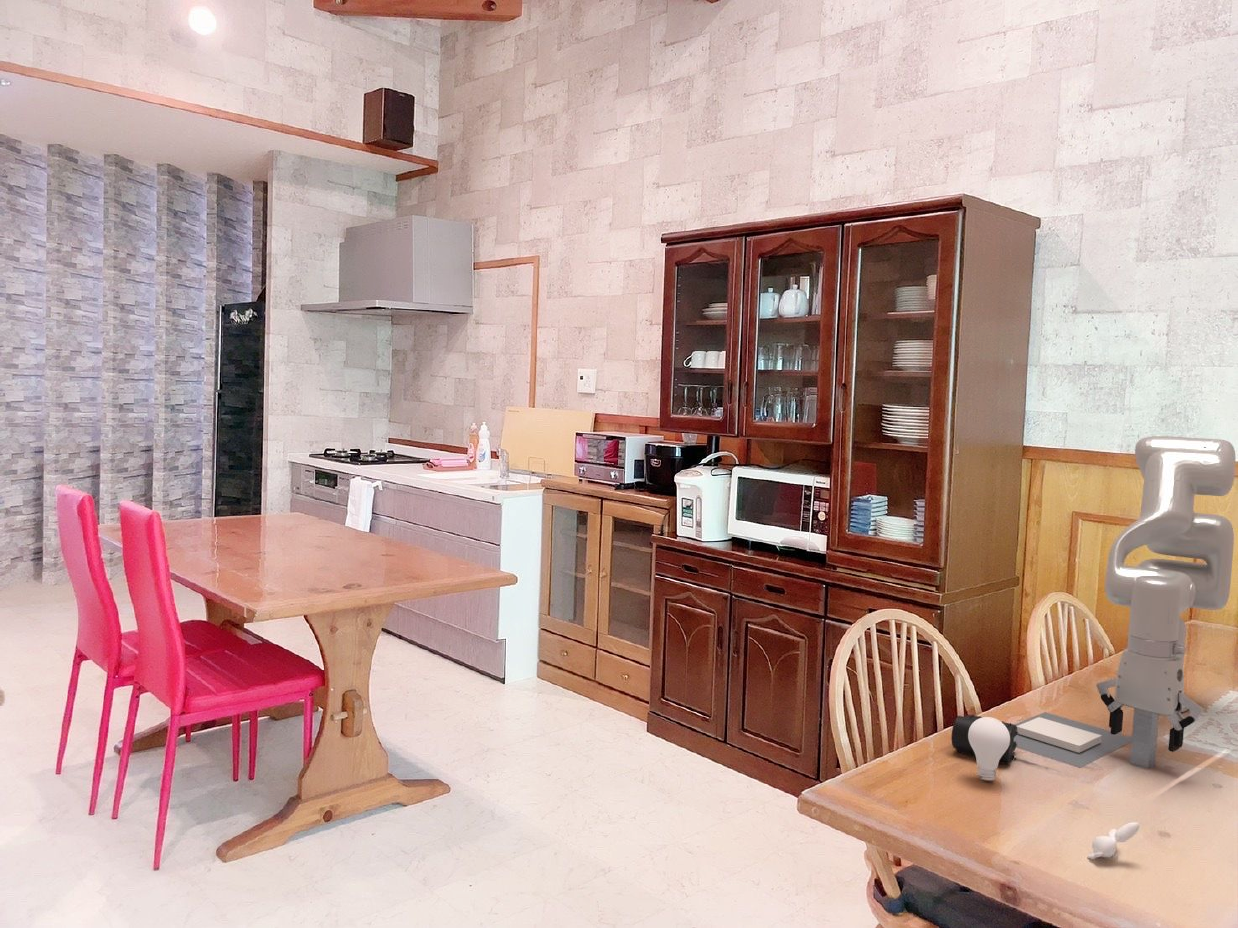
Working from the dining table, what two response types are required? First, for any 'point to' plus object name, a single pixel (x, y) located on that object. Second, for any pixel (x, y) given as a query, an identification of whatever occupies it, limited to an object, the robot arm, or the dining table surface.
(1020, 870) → the dining table surface
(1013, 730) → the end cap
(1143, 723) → the metal bar
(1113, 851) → the rabbit figurine
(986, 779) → the light bulb
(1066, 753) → the mat
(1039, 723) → the tile
